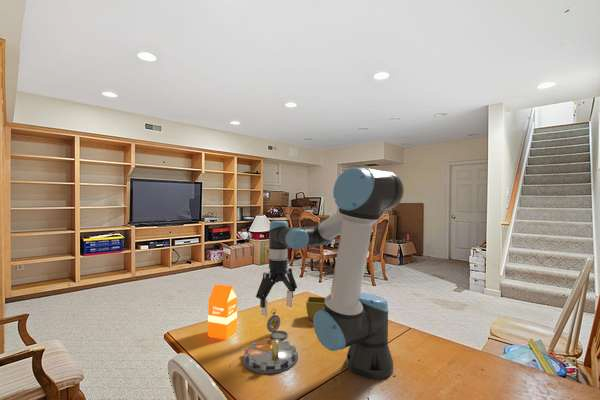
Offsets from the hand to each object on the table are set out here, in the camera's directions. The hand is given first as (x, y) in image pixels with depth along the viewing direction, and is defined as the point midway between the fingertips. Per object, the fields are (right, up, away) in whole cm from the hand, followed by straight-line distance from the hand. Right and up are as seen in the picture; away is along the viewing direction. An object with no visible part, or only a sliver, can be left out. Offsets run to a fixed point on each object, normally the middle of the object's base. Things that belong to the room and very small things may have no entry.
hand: (277, 310), depth 117 cm
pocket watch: (0, -10, -1) cm, 10 cm away
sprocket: (-1, -10, -18) cm, 20 cm away
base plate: (-1, -10, -18) cm, 20 cm away
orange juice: (-22, -10, 0) cm, 25 cm away
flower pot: (+17, -11, +17) cm, 26 cm away
